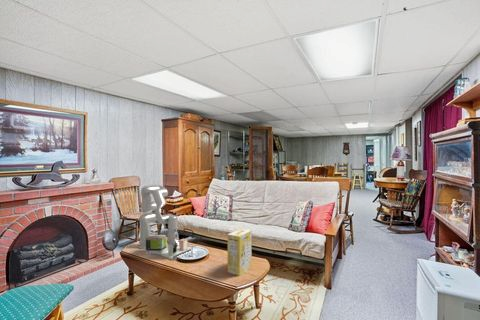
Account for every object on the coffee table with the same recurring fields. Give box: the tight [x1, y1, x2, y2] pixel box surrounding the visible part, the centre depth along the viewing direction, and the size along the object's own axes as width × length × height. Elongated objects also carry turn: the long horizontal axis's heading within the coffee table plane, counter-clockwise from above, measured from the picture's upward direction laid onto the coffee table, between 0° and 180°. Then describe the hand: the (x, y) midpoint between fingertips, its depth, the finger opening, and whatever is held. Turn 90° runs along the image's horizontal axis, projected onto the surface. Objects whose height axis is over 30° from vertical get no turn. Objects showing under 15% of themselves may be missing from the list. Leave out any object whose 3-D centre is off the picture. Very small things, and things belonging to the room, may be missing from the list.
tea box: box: [145, 234, 167, 256], centre depth 208 cm, size 15×10×15 cm
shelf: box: [160, 245, 192, 261], centre depth 204 cm, size 17×20×4 cm
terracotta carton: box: [179, 238, 188, 251], centre depth 209 cm, size 5×5×9 cm
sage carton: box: [167, 243, 177, 255], centre depth 198 cm, size 5×5×9 cm
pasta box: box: [226, 227, 253, 277], centre depth 176 cm, size 18×10×28 cm, turn 149°
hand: (172, 251), depth 198 cm, fingers closed on sage carton, 5 cm apart
